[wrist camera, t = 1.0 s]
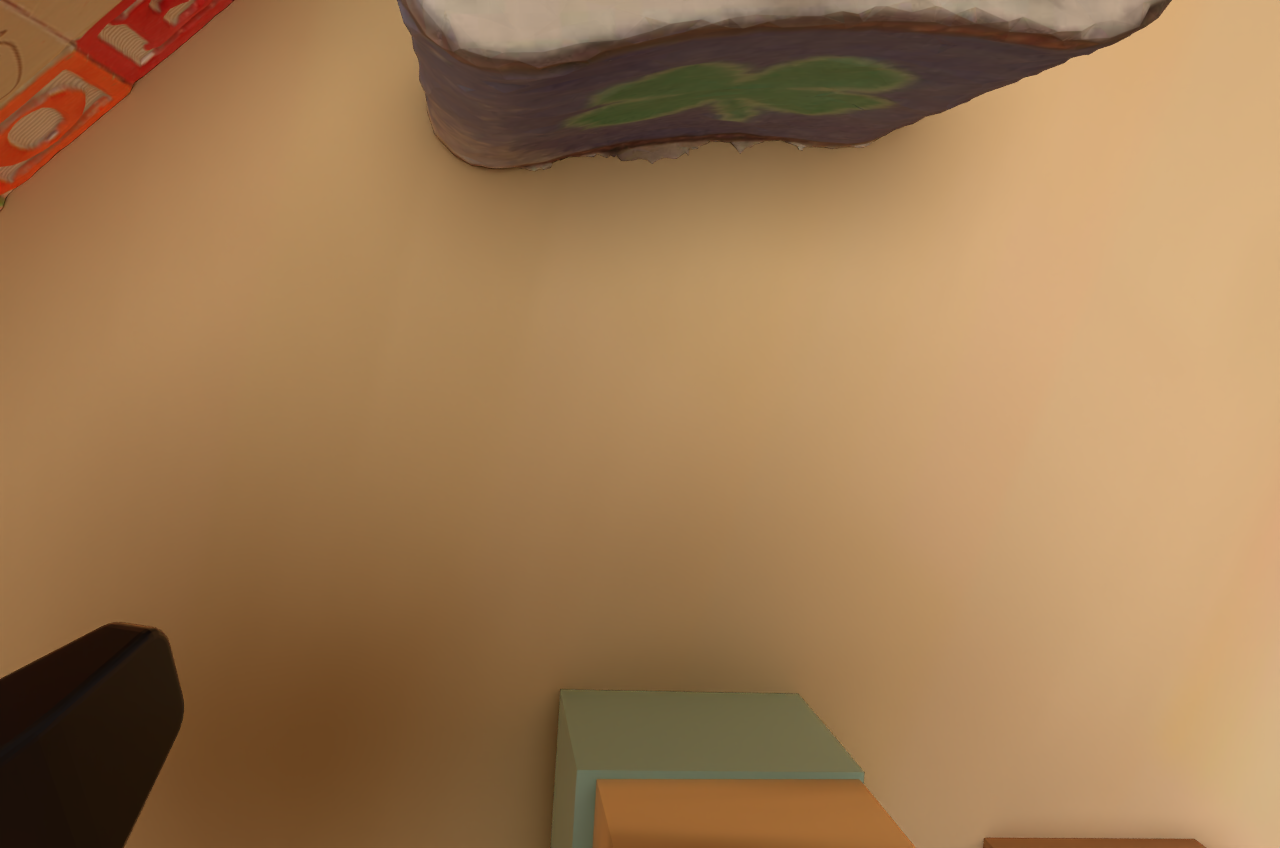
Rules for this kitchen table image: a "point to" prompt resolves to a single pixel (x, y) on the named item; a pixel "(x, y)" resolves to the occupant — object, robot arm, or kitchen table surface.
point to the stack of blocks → (77, 67)
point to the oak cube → (741, 814)
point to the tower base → (682, 745)
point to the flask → (726, 68)
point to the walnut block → (1089, 843)
